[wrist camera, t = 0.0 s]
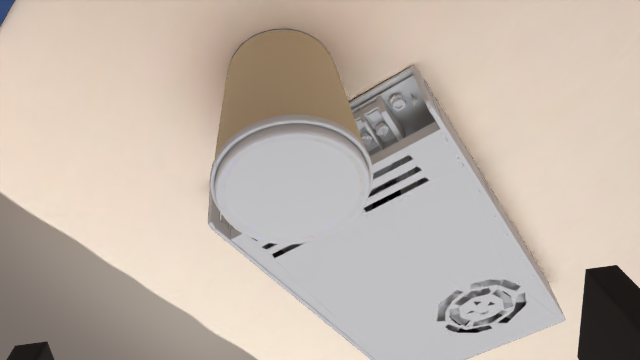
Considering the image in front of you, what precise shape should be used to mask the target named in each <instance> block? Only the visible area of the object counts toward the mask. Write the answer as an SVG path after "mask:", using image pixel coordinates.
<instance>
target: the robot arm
mask: <svg viewBox="0 0 640 360" xmlns="http://www.w3.org/2000/svg"><path fill="white" fill-rule="evenodd" d="M578 359H579V360H640V288H639V287H638V286H637V285H636V284H635V283H634V282H633V281H632V280H631V279H630V278H629V277H628V276H627V275H626V274H625V273H624V272H623V271H622V270H621V269H620V268H619V267H618V266H617V265H614V266H607V267H599V268H592V269H586V273H585V284H584V294H583V305H582V315H581V326H580V336H579V347H578ZM7 360H54V358H53V355H52V353H51V350H50V348H49V345H48V342H41V343H33V344H26V345H18V346H15V347H14V349H13V350H12V352H11V354H10V355H9V357H8V358H7Z"/></svg>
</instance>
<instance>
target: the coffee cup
mask: <svg viewBox="0 0 640 360" xmlns="http://www.w3.org/2000/svg"><path fill="white" fill-rule="evenodd" d="M372 184H373V165H372V162H371V158H370V156H369V154H368V151H367V149H366V148H365V146H364V144H363V142H362V138H361V136H360V133H359V130H358V127H357V124H356V121H355V119H354V116H353V113H352V110H351V107H350V104H349V102H348V99H347V96H346V94H345V91H344V88H343V85H342V83H341V80H340V77H339V74H338V72H337V69H336V67H335V64H334V62H333V60H332V57H331V55H330V54H329V52H328V51H327V49H326V48H325V47H324V46H323V45H322V44H321V43H320V42H319V41H317V40H316V39H315V38H313V37H311V36H309V35H307V34H305V33H302V32H299V31H294V30H288V29H278V30H271V31H266V32H263V33H260V34H258V35H256V36H254V37H252V38H250V39H249V40H247V41H246V42H245V43H243V44H242V45H241V46H240V47H239V49H238V50H237V51H236V53H235V54H234V56H233V58H232V60H231V62H230V65H229V69H228V73H227V78H226V84H225V91H224V98H223V104H222V111H221V117H220V124H219V131H218V138H217V146H216V153H215V160H214V162H213V165H212V170H211V174H210V188H211V193H212V197H213V200H214V202H215V204H216V206H217V208H218V209H219V211H220V212H221V214H222V216H223V217H224V218H225V219H226V221H227V222H228V223H229V224H230V225H231V226H233V227H234V228H235V229H236V230H238V231H239V232H241V233H243V234H244V235H246V236H248V237H251V238H253V239H256V240H259V241H262V242H267V243H273V244H283V245H291V244H303V243H309V242H313V241H317V240H320V239H323V238H326V237H328V236H330V235H333V234H335V233H337V232H338V231H340V230H342V229H343V228H345V227H346V226H347V225H349V224H350V223H351V222H352V221H353V220H354V219H355V218H356V217H357V216H358V215H359V213H360V212H361V211H362V209H363V208H364V206H365V204H366V202H367V199H368V196H369V194H370V192H371V189H372Z"/></svg>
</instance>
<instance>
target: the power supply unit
mask: <svg viewBox="0 0 640 360" xmlns="http://www.w3.org/2000/svg"><path fill="white" fill-rule="evenodd" d="M349 104H350V107H351V110H352V113H353V116H354V119H355V121H356V124H357V127H358V130H359V133H360V136H361V138H362V142H363V144H364V146H365V148H366V149H367V151H368V154H369V156H370V158H371V162H372V165H373V184H372V189H371V192H370V194H369V196H368V199H367V202H366V204H365V206H364V208H363V209H362V211H361V212H360V213H359V215H358V216H357V217H356V218H355V219H354V220H353V221H352V222H351V223H350V224H349V225H347V226H346V227H345V228H343V229H342V230H340V231H338V232H337V233H335V234H333V235H330V236H328V237H326V238H323V239H320V240H317V241H313V242H309V243H303V244H291V245H283V244H273V243H267V242H262V241H259V240H256V239H253V238H251V237H248V236H246V235H244V234H243V233H241V232H239V231H238V230H236V229H235V228H234V227H233V226H231V225H230V224H229V223H228V222H227V221H226V219H225V218H224V217H223V216H222V214H221V220H220V211H219V209H218V208H217V206H216V204H215V202H214V200H213V197H212V193H211V188H210V192H209V210H208V224H209V226H210V227H211V228H212V230H213V231H214V232H216V233H217V234H218V235H219V236H220V237H222V238H223V239H224V240H225V241H227V242H228V243H229V244H230V245H231V246H233V247H234V248H235V249H236V250H238V251H239V252H240V253H241V254H242V255H244V256H245V257H246V258H247V259H249V260H250V261H251V262H252V263H253V264H255V265H256V266H257V267H258V268H260V269H261V270H262V271H263V272H264V273H266V274H267V275H268V276H269V277H271V278H272V279H273V280H274V281H275V282H277V283H278V284H279V285H280V286H282V287H283V288H284V289H285V290H286V291H288V292H289V293H290V294H291V295H292V296H294V297H295V298H296V299H297V300H299V301H300V302H301V303H302V304H303V305H305V306H306V307H307V308H308V309H310V310H311V311H312V312H313V313H314V314H316V315H317V316H318V317H319V318H321V319H322V320H323V321H324V322H325V323H327V324H328V325H329V326H330V327H332V328H333V329H334V330H335V331H336V332H338V333H339V334H340V335H341V336H343V337H344V338H345V339H346V340H347V341H349V342H350V343H351V344H352V345H354V346H355V347H356V348H357V349H358V350H360V351H361V352H362V353H363V354H365V355H366V356H367V357H368V358H369V359H371V360H466V359H469V358H471V357H474V356H476V355H479V354H481V353H484V352H487V351H489V350H492V349H494V348H497V347H499V346H502V345H505V344H507V343H510V342H512V341H515V340H517V339H520V338H522V337H525V336H528V335H530V334H533V333H535V332H538V331H540V330H543V329H546V328H548V327H551V326H553V325H556V324H558V323H561V322H563V321H565V320H566V319H565V317H564V315H563V312H562V310H561V308H560V306H559V304H558V302H557V300H556V298H555V296H554V294H553V292H552V289H551V287H550V285H549V283H548V281H547V280H546V278H545V276H544V275H543V273H542V271H541V270H540V268H539V266H538V265H537V263H536V262H535V260H534V258H533V257H532V255H531V253H530V252H529V250H528V249H527V247H526V245H525V244H524V242H523V240H522V239H521V237H520V235H519V234H518V232H517V231H516V229H515V227H514V226H513V224H512V222H511V221H510V219H509V218H508V216H507V214H506V213H505V211H504V209H503V208H502V206H501V204H500V203H499V201H498V200H497V198H496V196H495V195H494V193H493V191H492V190H491V188H490V187H489V185H488V183H487V182H486V180H485V178H484V177H483V175H482V174H481V172H480V170H479V168H478V167H477V166H476V164H475V162H474V160H473V159H472V157H471V155H470V154H469V152H468V150H467V149H466V147H465V146H464V144H463V142H462V141H461V139H460V138H459V136H458V134H457V133H456V131H455V129H454V128H453V126H452V125H451V123H450V121H449V120H448V118H447V117H446V115H445V113H444V112H443V110H442V108H441V107H440V105H439V104H438V102H437V100H436V99H435V97H434V95H433V94H432V92H431V91H430V89H429V87H428V85H427V83H426V82H425V81H424V80H423V78H422V75H421V74H420V73H419V71H418V70H417V69H416V67H415V66H414V65H413V66H411V67H410V68H408V69H406V70H404V71H403V72H401V73H399V74H397V75H396V76H394V77H392V78H390V79H389V80H387V81H385V82H384V83H382V84H380V85H378V86H377V87H375V88H373V89H371V90H370V91H368V92H366V93H364V94H363V95H361V96H359V97H357V98H356V99H354V100H352V101H351V102H349ZM229 227H230V228H229Z"/></svg>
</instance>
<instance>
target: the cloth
mask: <svg viewBox="0 0 640 360" xmlns="http://www.w3.org/2000/svg"><path fill="white" fill-rule="evenodd" d="M14 1H15V0H0V26H1V24H2V22H3V20H4V19H5V17H6V15H7V13H8V12H9V10H10V8H11V6H12V4H13V3H14Z"/></svg>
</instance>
